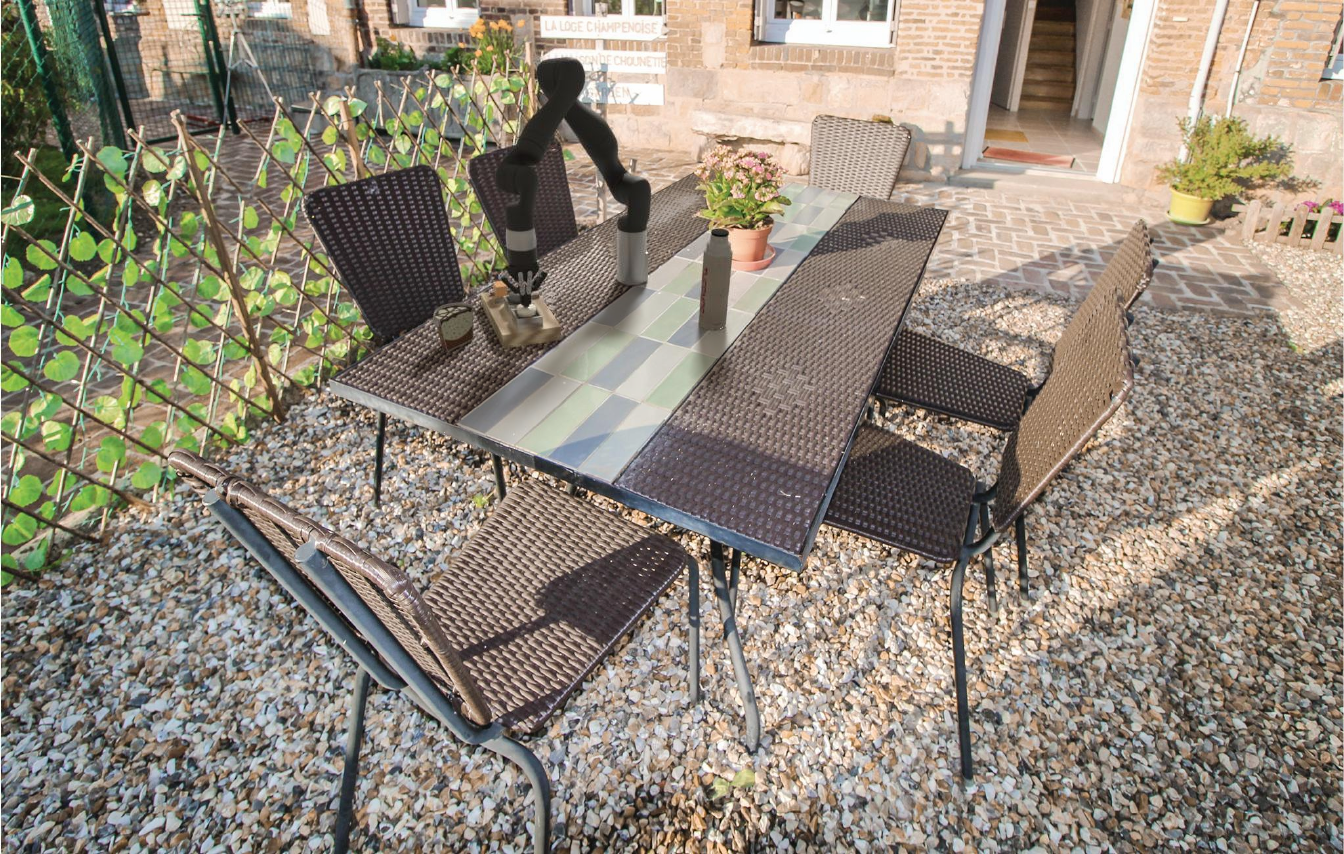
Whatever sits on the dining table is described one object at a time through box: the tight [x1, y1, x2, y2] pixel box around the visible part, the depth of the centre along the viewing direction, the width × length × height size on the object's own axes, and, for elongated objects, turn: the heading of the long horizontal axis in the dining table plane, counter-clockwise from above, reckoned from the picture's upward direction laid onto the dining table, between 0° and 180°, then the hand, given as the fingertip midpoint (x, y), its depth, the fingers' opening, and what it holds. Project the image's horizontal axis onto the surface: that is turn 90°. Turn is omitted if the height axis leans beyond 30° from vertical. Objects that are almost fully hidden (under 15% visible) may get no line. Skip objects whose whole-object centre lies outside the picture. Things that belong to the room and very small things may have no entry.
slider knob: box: [492, 280, 508, 299], centre depth 214 cm, size 3×4×4 cm
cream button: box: [517, 304, 536, 317], centre depth 201 cm, size 5×5×2 cm
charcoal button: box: [509, 292, 520, 304], centre depth 207 cm, size 5×5×2 cm
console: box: [480, 288, 562, 349], centre depth 210 cm, size 16×28×7 cm, turn 24°
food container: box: [432, 302, 476, 353], centre depth 197 cm, size 12×6×10 cm, turn 145°
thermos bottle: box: [698, 227, 734, 330], centre depth 208 cm, size 8×8×28 cm
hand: (525, 306), depth 200 cm, fingers closed
